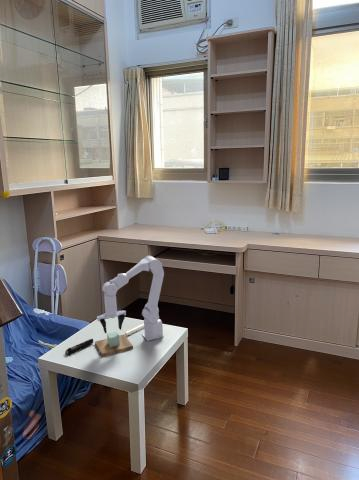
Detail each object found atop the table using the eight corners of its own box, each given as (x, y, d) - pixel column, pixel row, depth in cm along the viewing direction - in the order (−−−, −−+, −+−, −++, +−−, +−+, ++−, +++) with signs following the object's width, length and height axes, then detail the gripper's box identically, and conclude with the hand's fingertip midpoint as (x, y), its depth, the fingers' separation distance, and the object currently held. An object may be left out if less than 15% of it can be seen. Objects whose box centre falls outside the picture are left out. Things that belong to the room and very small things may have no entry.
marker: (147, 327, 205) (126, 337, 193) (145, 324, 206) (124, 334, 194) (149, 323, 204) (128, 334, 192) (146, 321, 205) (125, 331, 193)
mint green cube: (116, 340, 185) (116, 331, 184) (119, 344, 181) (119, 335, 180) (107, 342, 183) (106, 334, 182) (110, 347, 179) (109, 338, 177)
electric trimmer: (95, 344, 185) (94, 339, 185) (68, 356, 174) (68, 350, 174) (91, 342, 188) (90, 337, 187) (64, 354, 177) (64, 348, 176)
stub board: (124, 336, 192) (123, 330, 191) (133, 348, 180) (132, 341, 179) (95, 344, 185) (94, 337, 184) (102, 356, 173) (101, 349, 172)
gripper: (98, 311, 171) (100, 337, 174) (127, 305, 177) (128, 330, 180) (95, 306, 177) (97, 331, 180) (122, 300, 183) (124, 325, 186)
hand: (112, 330), depth 180 cm, fingers open, 7 cm apart
